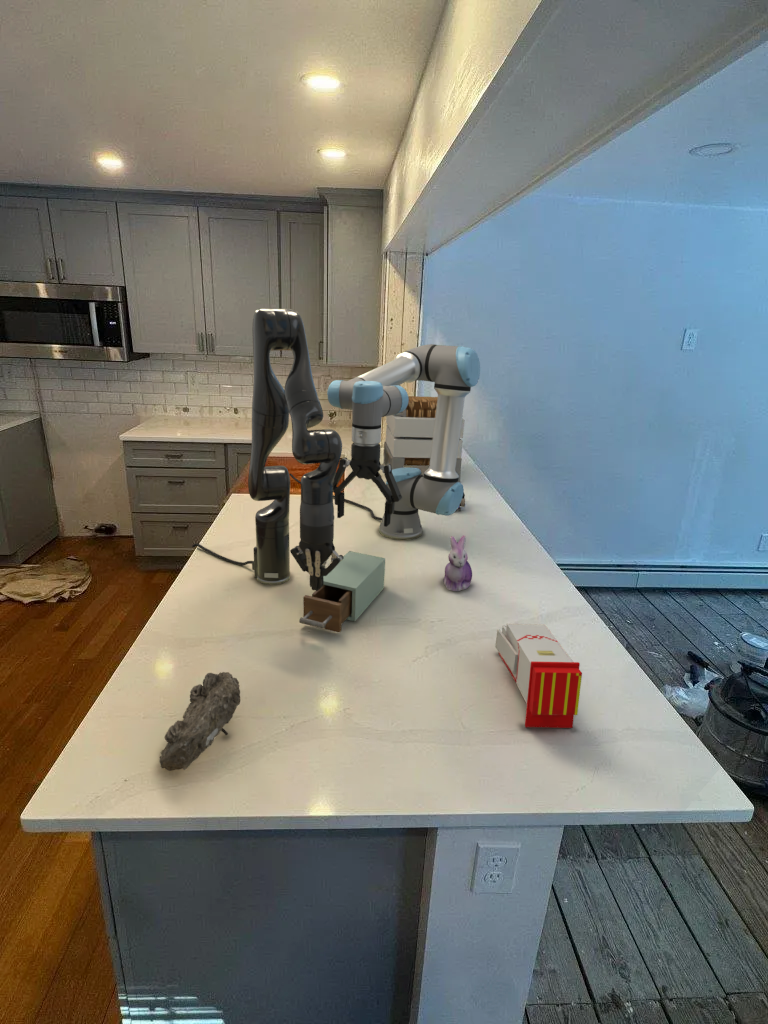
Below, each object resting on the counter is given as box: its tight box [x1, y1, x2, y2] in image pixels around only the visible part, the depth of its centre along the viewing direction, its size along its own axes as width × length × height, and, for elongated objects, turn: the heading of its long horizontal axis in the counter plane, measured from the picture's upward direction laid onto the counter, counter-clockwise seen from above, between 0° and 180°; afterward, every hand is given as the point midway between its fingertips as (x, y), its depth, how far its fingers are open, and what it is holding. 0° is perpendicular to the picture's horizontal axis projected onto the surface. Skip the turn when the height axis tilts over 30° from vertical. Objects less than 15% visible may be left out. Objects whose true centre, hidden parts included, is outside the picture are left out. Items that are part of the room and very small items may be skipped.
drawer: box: [299, 584, 352, 633], centre depth 142 cm, size 24×10×7 cm, turn 159°
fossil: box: [159, 671, 241, 772], centre depth 102 cm, size 22×10×15 cm
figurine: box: [443, 534, 473, 592], centre depth 162 cm, size 9×10×15 cm
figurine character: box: [457, 492, 466, 511], centre depth 229 cm, size 7×8×15 cm
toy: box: [494, 623, 583, 729], centre depth 120 cm, size 12×13×30 cm
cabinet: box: [323, 550, 386, 622], centre depth 152 cm, size 20×11×9 cm, turn 159°
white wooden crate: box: [382, 385, 465, 483], centre depth 268 cm, size 34×33×41 cm
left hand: (316, 588), depth 131 cm, fingers closed
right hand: (363, 520), depth 152 cm, fingers open, 13 cm apart
